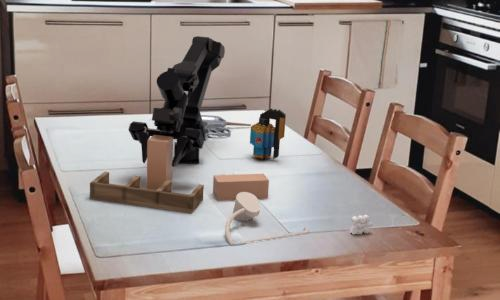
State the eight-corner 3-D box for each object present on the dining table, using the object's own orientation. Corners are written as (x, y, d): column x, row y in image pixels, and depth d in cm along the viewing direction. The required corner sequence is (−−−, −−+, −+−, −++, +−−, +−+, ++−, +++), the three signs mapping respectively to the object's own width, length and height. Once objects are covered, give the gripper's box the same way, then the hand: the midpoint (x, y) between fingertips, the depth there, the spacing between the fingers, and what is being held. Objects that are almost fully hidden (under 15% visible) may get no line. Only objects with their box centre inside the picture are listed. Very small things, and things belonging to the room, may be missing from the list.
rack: (104, 186, 207) (104, 171, 206) (203, 200, 202) (203, 184, 201) (89, 198, 199) (89, 182, 197) (192, 213, 193) (192, 197, 192)
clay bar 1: (153, 183, 212) (154, 134, 208) (171, 185, 210) (173, 136, 207) (146, 189, 207) (147, 139, 203) (165, 192, 206) (166, 142, 202)
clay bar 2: (262, 192, 210) (263, 173, 209) (267, 199, 206) (268, 180, 204) (212, 193, 207) (213, 175, 206) (216, 201, 202) (217, 182, 201)
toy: (245, 159, 234) (248, 108, 229) (258, 150, 242) (261, 101, 238) (277, 165, 231) (280, 113, 226) (288, 156, 239) (292, 106, 235)
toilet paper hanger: (232, 244, 176) (203, 197, 188) (228, 261, 179) (199, 213, 190) (312, 231, 186) (279, 186, 197) (306, 247, 189) (274, 202, 200)
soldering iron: (171, 144, 246) (162, 125, 261) (260, 149, 255) (247, 130, 269) (173, 126, 244) (165, 108, 258) (263, 132, 253) (250, 113, 267)
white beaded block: (352, 235, 186) (355, 217, 185) (348, 233, 187) (352, 214, 186) (370, 234, 188) (373, 216, 187) (367, 232, 189) (370, 214, 188)
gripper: (131, 90, 207) (114, 144, 200) (202, 98, 203) (187, 153, 196) (142, 113, 217) (126, 165, 210) (210, 121, 213) (196, 174, 206)
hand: (158, 164), depth 205 cm, fingers open, 7 cm apart
